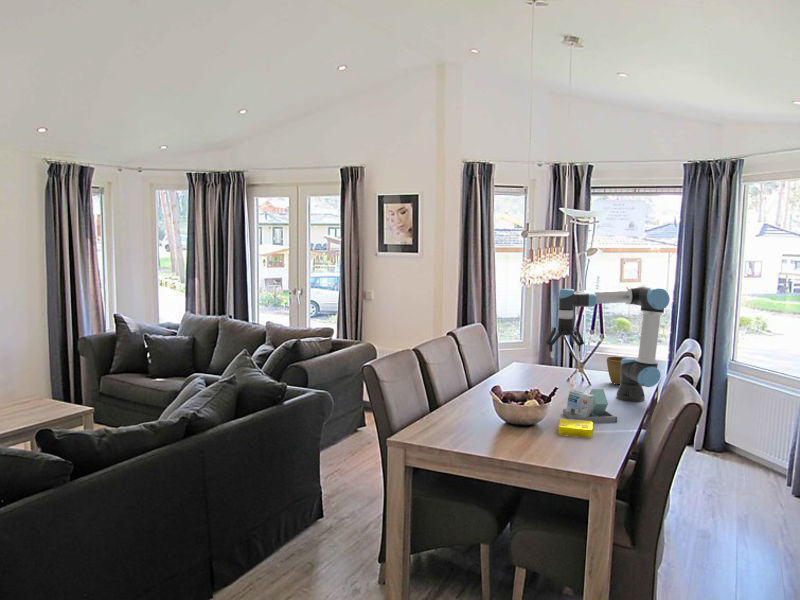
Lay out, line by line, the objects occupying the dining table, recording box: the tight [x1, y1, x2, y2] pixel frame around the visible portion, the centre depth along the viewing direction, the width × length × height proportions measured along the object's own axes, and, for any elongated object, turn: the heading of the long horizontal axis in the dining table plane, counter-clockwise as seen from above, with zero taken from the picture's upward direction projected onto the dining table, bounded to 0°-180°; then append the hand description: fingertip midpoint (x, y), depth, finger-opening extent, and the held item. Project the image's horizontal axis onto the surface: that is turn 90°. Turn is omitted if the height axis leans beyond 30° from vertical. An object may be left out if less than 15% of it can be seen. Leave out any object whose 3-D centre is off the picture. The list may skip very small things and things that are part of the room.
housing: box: [562, 408, 618, 424], centre depth 302 cm, size 21×16×3 cm
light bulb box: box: [565, 389, 594, 417], centre depth 302 cm, size 11×7×11 cm, turn 52°
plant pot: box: [606, 356, 625, 385], centre depth 381 cm, size 15×15×16 cm
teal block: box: [589, 388, 609, 415], centre depth 306 cm, size 6×10×9 cm
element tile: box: [557, 418, 594, 438], centre depth 281 cm, size 15×15×5 cm
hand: (564, 357), depth 323 cm, fingers open, 13 cm apart
